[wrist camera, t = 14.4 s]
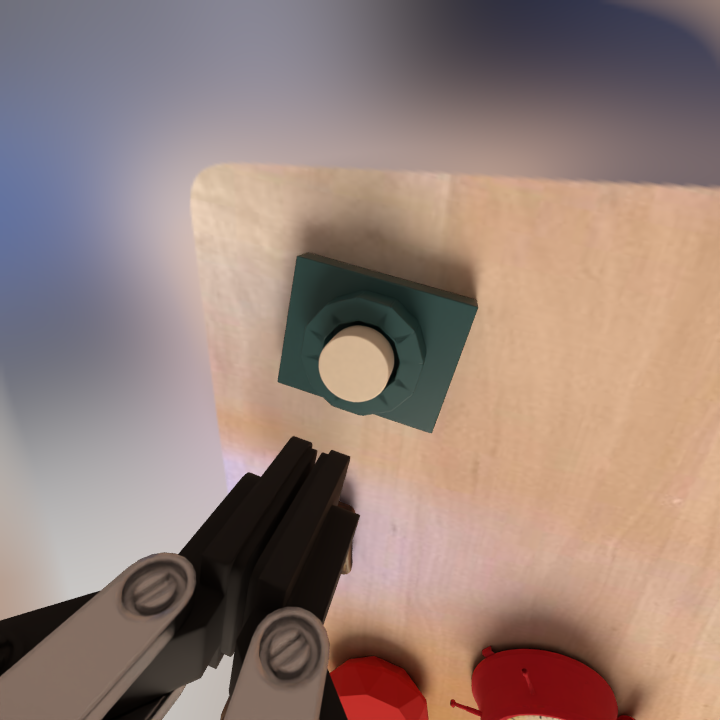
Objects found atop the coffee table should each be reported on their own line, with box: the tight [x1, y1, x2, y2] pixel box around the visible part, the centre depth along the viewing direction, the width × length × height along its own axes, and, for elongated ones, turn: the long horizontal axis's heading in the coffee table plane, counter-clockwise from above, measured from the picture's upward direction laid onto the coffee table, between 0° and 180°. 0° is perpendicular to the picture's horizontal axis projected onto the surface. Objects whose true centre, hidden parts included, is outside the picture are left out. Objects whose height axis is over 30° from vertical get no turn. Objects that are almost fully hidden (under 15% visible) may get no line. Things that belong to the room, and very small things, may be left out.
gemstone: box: [330, 656, 428, 720], centre depth 34 cm, size 9×9×3 cm
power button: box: [319, 325, 394, 402], centre depth 20 cm, size 4×4×2 cm
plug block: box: [278, 253, 478, 433], centre depth 22 cm, size 8×10×4 cm
